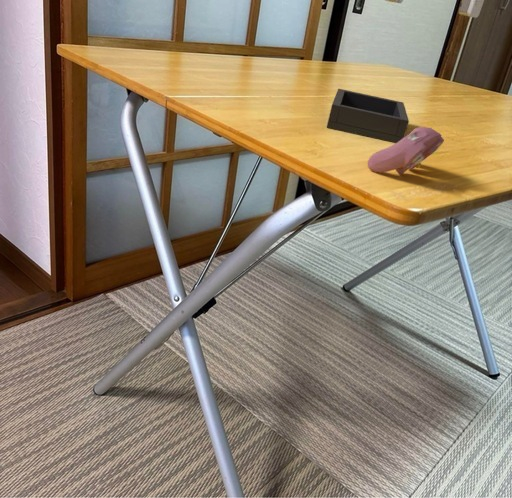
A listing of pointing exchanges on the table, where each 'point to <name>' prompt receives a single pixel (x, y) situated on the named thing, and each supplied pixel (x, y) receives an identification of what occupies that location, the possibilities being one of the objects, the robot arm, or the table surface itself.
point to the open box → (368, 116)
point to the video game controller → (407, 151)
